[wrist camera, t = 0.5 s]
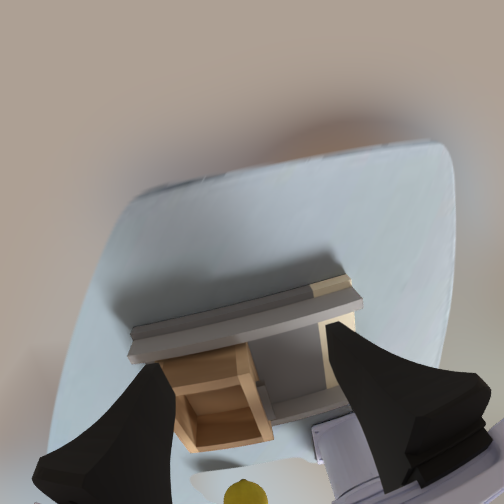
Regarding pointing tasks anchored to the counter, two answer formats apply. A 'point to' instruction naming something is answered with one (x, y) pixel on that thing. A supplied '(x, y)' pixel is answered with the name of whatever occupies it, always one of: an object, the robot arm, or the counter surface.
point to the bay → (268, 342)
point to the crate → (219, 399)
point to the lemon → (245, 493)
